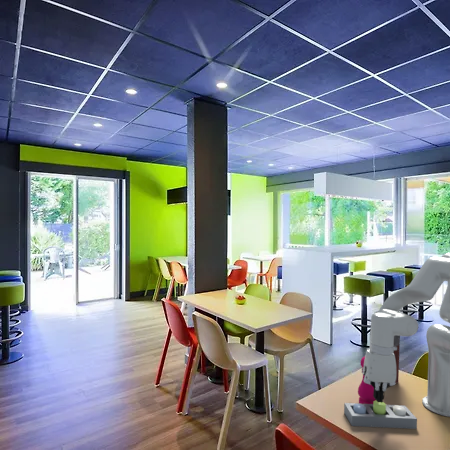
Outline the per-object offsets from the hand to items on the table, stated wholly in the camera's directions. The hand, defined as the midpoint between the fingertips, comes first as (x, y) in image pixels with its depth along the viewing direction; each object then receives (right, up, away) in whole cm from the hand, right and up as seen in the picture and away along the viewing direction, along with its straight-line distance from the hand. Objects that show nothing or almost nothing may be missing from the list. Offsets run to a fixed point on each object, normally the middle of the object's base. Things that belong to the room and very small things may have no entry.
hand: (378, 400), depth 116 cm
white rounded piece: (+7, -7, 0) cm, 10 cm away
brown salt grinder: (+17, -8, +31) cm, 36 cm away
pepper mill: (+1, -7, +10) cm, 13 cm away
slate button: (-7, -7, +1) cm, 9 cm away
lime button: (0, -5, 0) cm, 5 cm away
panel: (0, -7, 0) cm, 7 cm away
